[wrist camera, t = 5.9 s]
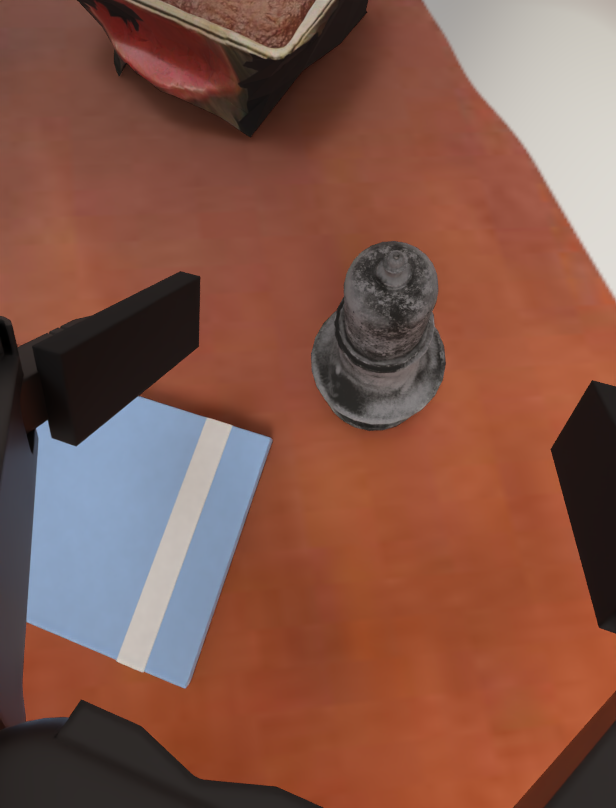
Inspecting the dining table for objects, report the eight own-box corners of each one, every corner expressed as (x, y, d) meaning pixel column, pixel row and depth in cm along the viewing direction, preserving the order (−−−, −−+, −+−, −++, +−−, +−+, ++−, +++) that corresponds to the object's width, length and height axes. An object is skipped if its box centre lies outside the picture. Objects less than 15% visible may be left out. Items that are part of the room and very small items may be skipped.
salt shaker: (433, 330, 23) (517, 157, 12) (428, 441, 22) (514, 371, 11) (322, 323, 24) (296, 153, 12) (311, 431, 23) (270, 354, 11)
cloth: (189, 684, 21) (184, 690, 20) (-151, 542, 24) (-165, 543, 23) (273, 439, 23) (271, 437, 22) (-48, 338, 26) (-59, 333, 25)
